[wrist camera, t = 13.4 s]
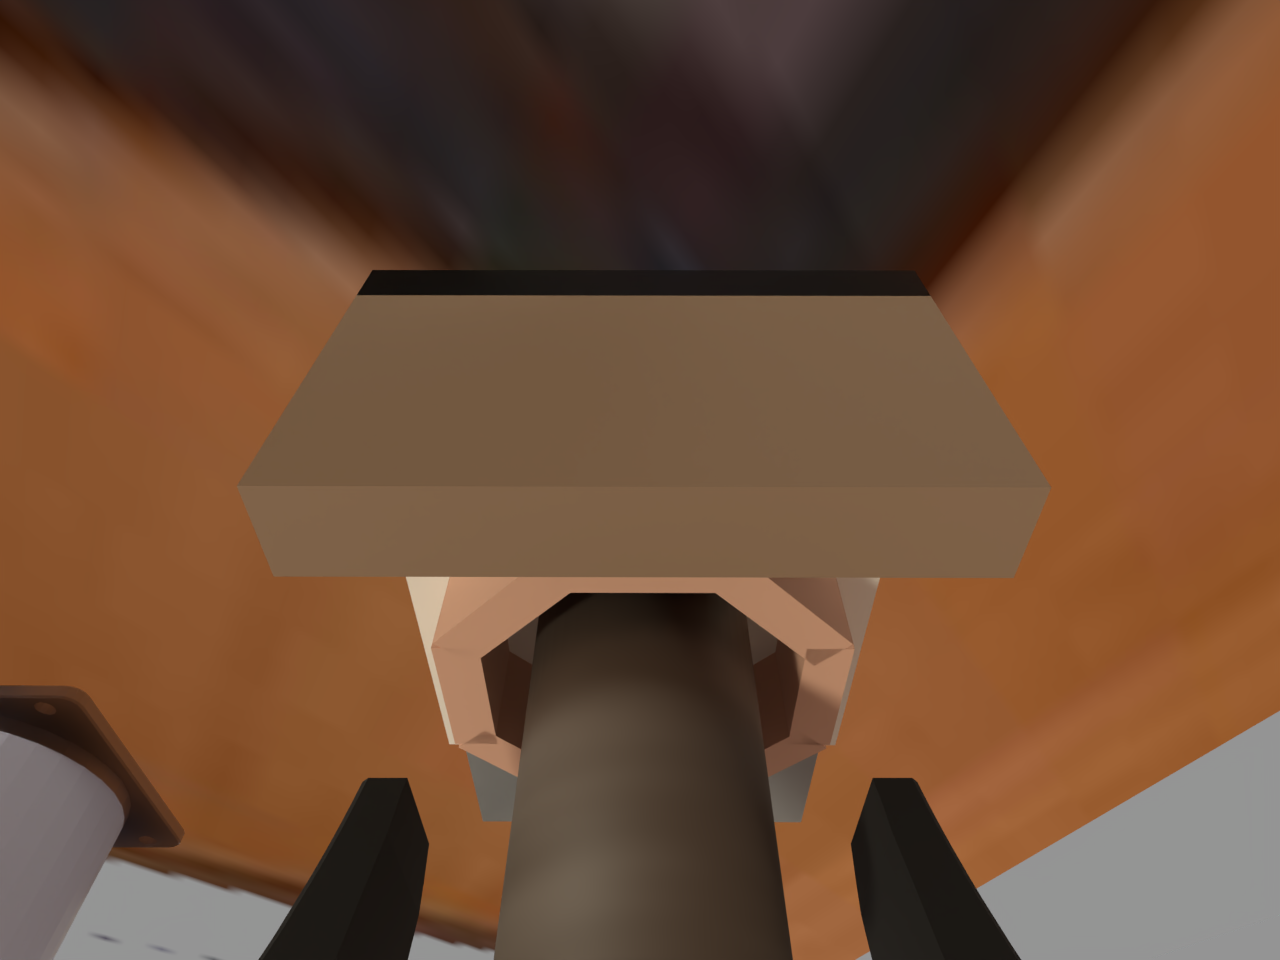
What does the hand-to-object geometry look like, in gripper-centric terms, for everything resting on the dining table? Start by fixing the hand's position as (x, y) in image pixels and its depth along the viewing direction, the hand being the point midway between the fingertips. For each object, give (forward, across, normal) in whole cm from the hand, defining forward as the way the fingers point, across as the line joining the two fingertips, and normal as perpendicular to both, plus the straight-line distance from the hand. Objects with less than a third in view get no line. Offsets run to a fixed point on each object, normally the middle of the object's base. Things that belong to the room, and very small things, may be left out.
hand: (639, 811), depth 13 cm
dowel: (+4, 0, 0) cm, 4 cm away
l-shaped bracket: (+7, 0, -2) cm, 7 cm away
